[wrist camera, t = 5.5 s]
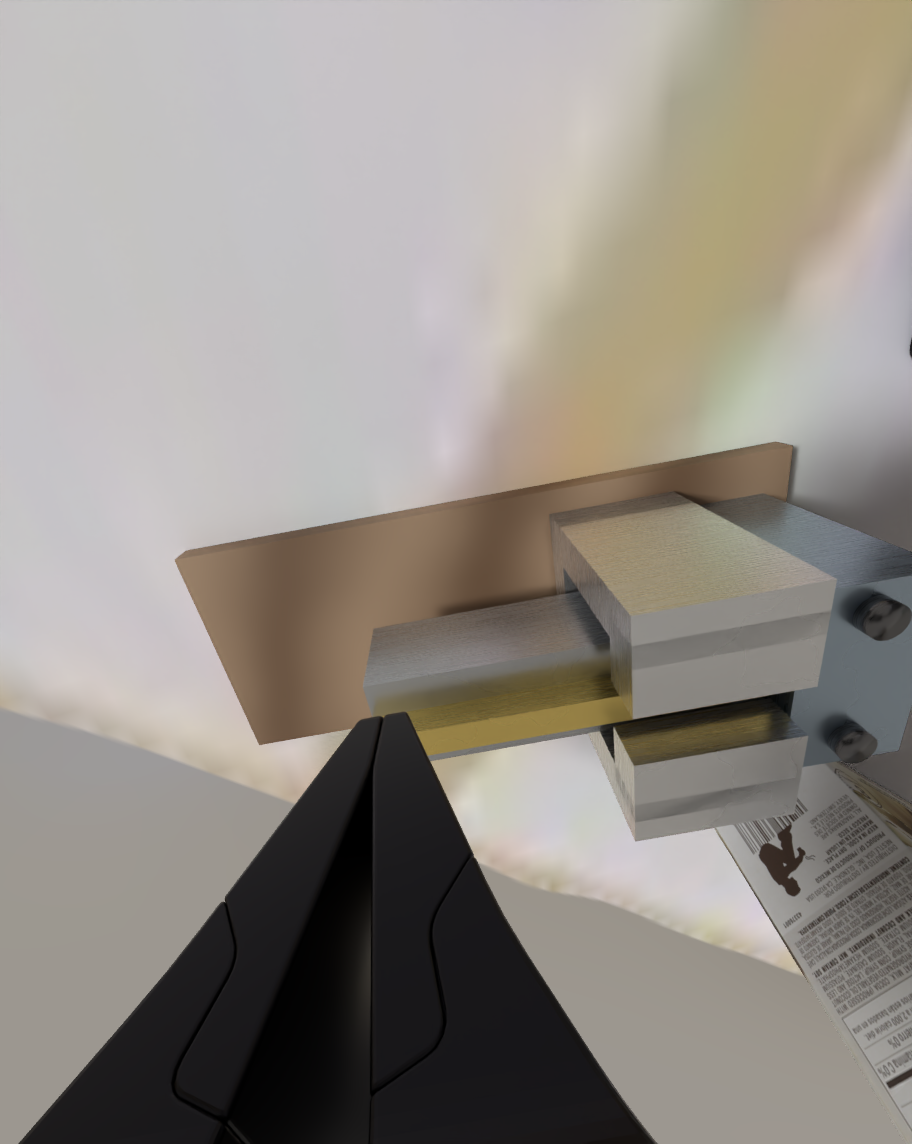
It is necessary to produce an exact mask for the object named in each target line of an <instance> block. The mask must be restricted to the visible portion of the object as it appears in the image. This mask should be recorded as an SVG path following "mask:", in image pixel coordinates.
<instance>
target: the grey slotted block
mask: <svg viewBox="0 0 912 1144" xmlns="http://www.w3.org/2000/svg"><path fill="white" fill-rule="evenodd" d="M549 517H550V528H551V538H552V549H553V560H554V570H555V581H556V592H557V595H561V594H567V593H572V592H578V591H579V592H580V593H581V595H582V596H583V598H584V599H585V601H586V602H587V604H588V605H589V607H590V608H591V610H592V611H593V613H594V614H595V616H596V617H597V619H598V620H599V622H600V623H601V625H602V626H603V628H604V629H605V631H606V632H607V634H608V635H609V637H610V660H611V682H612V684H613V685H614V687H615V689H616V691H617V692H618V694H619V696H620V698H621V699H622V701H623V703H624V704H625V706H626V708H627V710H628V711H629V713H630V715H631V717H632V718H633V719H637V718H643V717H648V716H654V715H660V714H665V713H671V712H677V711H682V710H688V709H694V708H699V707H705V706H711V705H716V704H722V703H728V702H733V701H739V700H745V699H750V698H756V697H762V696H767V695H773V694H779V693H784V692H790V691H796V690H801V689H807V688H813V687H817V686H818V681H819V675H820V670H821V664H822V659H823V653H824V648H825V643H826V637H827V632H828V626H829V621H830V615H831V610H832V604H833V599H834V593H835V588H836V582H837V579H836V578H834V577H832V576H831V575H829V574H827V573H825V572H823V571H821V570H819V569H817V568H816V567H814V566H812V565H810V564H808V563H806V562H804V561H802V560H801V559H799V558H797V557H795V556H793V555H791V554H789V553H787V552H786V551H784V550H782V549H780V548H778V547H776V546H774V545H773V544H771V543H769V542H767V541H765V540H763V539H761V538H759V537H758V536H756V535H754V534H752V533H750V532H748V531H746V530H744V529H743V528H741V527H739V526H737V525H735V524H733V523H731V522H729V521H728V520H726V519H724V518H722V517H720V516H718V515H716V514H714V513H713V512H711V511H709V510H707V509H705V508H703V507H701V506H699V505H698V504H696V503H694V502H692V501H690V500H688V499H686V498H685V497H683V496H681V495H679V494H677V493H675V492H667V493H662V494H656V495H651V496H645V497H640V498H635V499H629V500H624V501H618V502H613V503H607V504H602V505H596V506H591V507H586V508H580V509H575V510H569V511H564V512H558V513H553V514H549ZM588 734H589V736H590V738H591V741H592V743H593V745H594V748H595V750H596V752H597V754H598V757H599V759H600V761H601V764H602V766H603V768H604V770H605V773H606V775H607V777H608V780H609V782H610V784H611V787H612V789H613V791H614V793H615V796H616V798H617V800H618V803H619V805H620V807H621V809H622V812H623V814H624V816H625V819H626V821H627V823H628V825H629V828H630V830H631V832H632V835H633V837H634V839H635V841H641V840H646V839H652V838H658V837H664V836H670V835H675V834H681V833H687V832H693V831H699V830H704V829H710V828H716V827H722V826H728V825H733V824H739V823H745V822H751V821H757V820H762V819H768V818H774V817H780V816H786V815H791V814H794V812H795V806H796V801H797V796H798V790H799V785H800V779H801V774H802V768H803V763H804V757H805V752H806V746H807V741H808V735H807V734H806V733H805V732H804V731H803V730H802V729H801V728H800V727H799V726H798V725H797V724H796V723H795V722H794V721H793V720H792V719H791V718H790V717H789V716H788V715H787V714H786V713H785V712H784V711H783V710H782V709H781V708H780V707H779V706H778V705H777V704H776V703H775V702H774V701H773V700H772V699H771V698H769V699H764V700H758V701H752V702H747V703H741V704H735V705H730V706H724V707H718V708H713V709H707V710H701V711H696V712H690V713H684V714H679V715H673V716H667V717H662V718H656V719H650V720H645V721H639V722H633V723H628V724H622V725H616V726H613V729H609V730H604V731H598V732H592V733H588Z"/></svg>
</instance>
